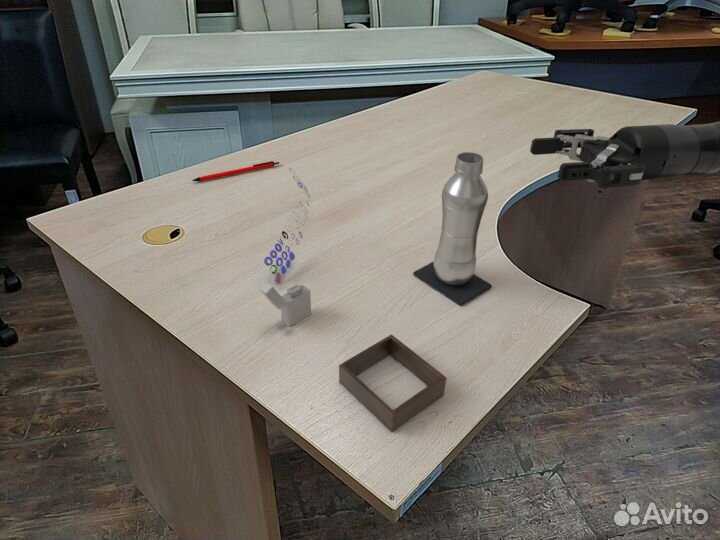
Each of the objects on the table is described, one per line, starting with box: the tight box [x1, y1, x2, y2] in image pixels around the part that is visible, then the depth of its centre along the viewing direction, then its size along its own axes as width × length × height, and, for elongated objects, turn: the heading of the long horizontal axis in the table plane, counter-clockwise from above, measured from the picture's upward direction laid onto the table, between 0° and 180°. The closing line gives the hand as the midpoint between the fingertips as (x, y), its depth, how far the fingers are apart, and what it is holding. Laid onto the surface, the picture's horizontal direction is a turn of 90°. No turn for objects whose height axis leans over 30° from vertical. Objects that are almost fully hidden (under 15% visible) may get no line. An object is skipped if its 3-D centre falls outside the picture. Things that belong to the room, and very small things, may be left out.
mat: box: [412, 261, 493, 307], centre depth 82 cm, size 10×7×1 cm
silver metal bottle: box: [433, 151, 489, 285], centre depth 76 cm, size 6×7×20 cm
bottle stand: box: [338, 334, 447, 433], centre depth 64 cm, size 10×9×3 cm
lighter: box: [258, 281, 312, 328], centre depth 72 cm, size 7×2×8 cm, turn 133°
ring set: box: [263, 167, 336, 284], centre depth 88 cm, size 25×12×12 cm, turn 169°
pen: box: [191, 160, 280, 182], centre depth 111 cm, size 1×19×1 cm, turn 119°
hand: (545, 159), depth 72 cm, fingers open, 8 cm apart
